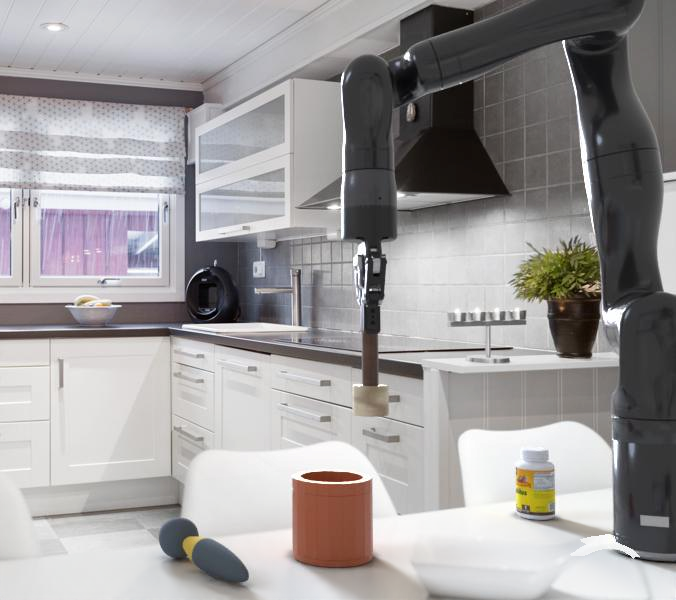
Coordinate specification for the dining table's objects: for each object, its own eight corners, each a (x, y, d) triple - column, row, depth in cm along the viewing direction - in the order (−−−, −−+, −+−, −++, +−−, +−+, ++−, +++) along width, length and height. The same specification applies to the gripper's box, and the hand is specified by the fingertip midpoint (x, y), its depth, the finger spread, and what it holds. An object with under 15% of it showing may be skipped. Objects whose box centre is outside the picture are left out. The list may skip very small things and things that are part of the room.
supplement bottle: (511, 512, 128) (510, 446, 129) (548, 512, 128) (546, 446, 129) (522, 520, 123) (521, 451, 123) (560, 521, 123) (559, 451, 123)
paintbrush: (272, 582, 94) (272, 538, 94) (238, 591, 91) (238, 545, 91) (174, 546, 109) (174, 508, 109) (142, 553, 106) (142, 514, 106)
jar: (366, 545, 109) (365, 469, 110) (378, 567, 99) (377, 483, 100) (290, 545, 110) (290, 469, 110) (295, 567, 100) (294, 483, 100)
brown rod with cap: (385, 412, 114) (384, 297, 115) (391, 416, 109) (390, 295, 110) (350, 413, 114) (349, 297, 115) (355, 416, 109) (353, 296, 110)
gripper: (406, 198, 106) (408, 333, 105) (388, 213, 120) (389, 333, 119) (347, 198, 106) (348, 334, 105) (335, 213, 120) (337, 333, 119)
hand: (370, 333), depth 112 cm, fingers closed on brown rod with cap
